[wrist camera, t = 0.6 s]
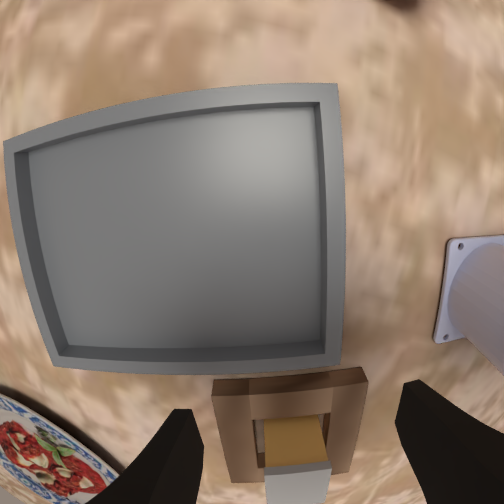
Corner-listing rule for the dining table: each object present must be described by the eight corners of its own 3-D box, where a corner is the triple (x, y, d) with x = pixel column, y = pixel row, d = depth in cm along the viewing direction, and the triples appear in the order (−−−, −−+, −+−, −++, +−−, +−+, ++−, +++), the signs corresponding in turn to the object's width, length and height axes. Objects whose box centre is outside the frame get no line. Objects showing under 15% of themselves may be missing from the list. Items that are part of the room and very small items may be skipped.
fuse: (316, 403, 22) (332, 468, 16) (313, 443, 23) (324, 502, 17) (261, 408, 22) (264, 475, 16) (265, 447, 23) (267, 508, 17)
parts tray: (327, 92, 16) (337, 83, 14) (332, 346, 20) (340, 364, 18) (23, 141, 16) (3, 141, 14) (66, 351, 21) (53, 366, 19)
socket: (361, 366, 21) (368, 381, 19) (344, 458, 24) (348, 472, 22) (214, 379, 21) (211, 395, 19) (232, 468, 24) (231, 482, 22)
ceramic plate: (85, 515, 31) (81, 528, 28) (-38, 411, 26) (-48, 422, 23) (189, 498, 27) (186, 518, 24) (2, 342, 21) (-16, 358, 18)
